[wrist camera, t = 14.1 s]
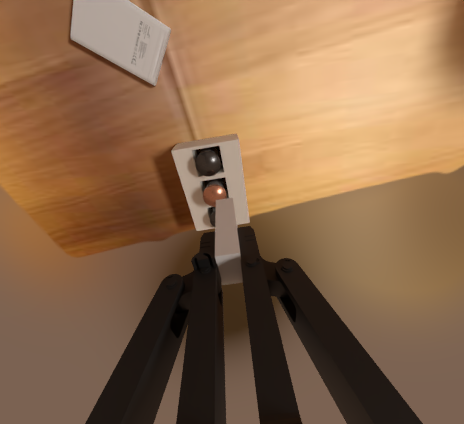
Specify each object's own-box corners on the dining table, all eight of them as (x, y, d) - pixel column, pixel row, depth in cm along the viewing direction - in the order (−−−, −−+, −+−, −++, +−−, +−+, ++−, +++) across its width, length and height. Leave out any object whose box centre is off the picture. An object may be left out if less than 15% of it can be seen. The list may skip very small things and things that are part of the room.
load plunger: (207, 194, 43) (205, 208, 38) (202, 176, 41) (200, 188, 36) (227, 191, 43) (228, 204, 38) (223, 172, 41) (224, 184, 36)
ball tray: (247, 210, 48) (249, 222, 44) (198, 218, 48) (196, 230, 44) (236, 133, 38) (238, 139, 34) (176, 143, 39) (171, 150, 35)
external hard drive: (83, -29, 27) (172, 30, 30) (76, 41, 30) (156, 86, 34) (76, -35, 25) (169, 27, 29) (69, 39, 29) (153, 86, 33)
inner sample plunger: (201, 167, 41) (198, 178, 36) (195, 145, 38) (192, 154, 33) (222, 163, 41) (222, 174, 36) (218, 141, 38) (218, 150, 33)
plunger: (213, 215, 47) (212, 230, 42) (209, 199, 45) (207, 213, 40) (231, 212, 47) (232, 226, 42) (228, 196, 45) (229, 209, 40)
